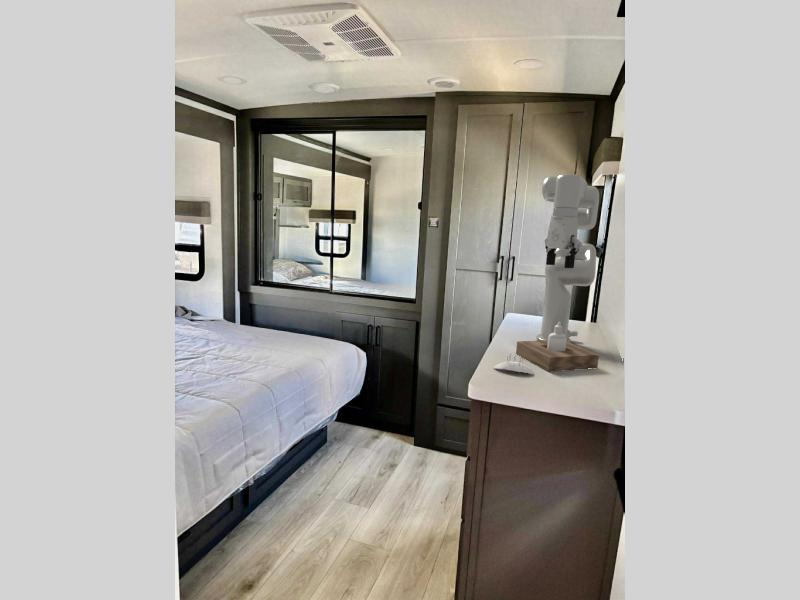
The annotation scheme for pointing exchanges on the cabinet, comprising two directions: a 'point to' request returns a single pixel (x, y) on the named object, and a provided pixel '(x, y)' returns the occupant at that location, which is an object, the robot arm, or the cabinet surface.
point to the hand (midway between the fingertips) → (559, 266)
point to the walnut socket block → (556, 356)
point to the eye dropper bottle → (557, 339)
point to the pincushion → (514, 366)
